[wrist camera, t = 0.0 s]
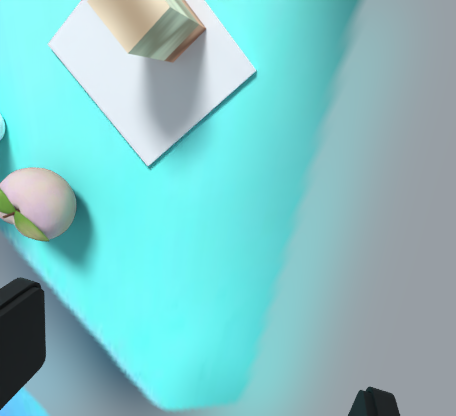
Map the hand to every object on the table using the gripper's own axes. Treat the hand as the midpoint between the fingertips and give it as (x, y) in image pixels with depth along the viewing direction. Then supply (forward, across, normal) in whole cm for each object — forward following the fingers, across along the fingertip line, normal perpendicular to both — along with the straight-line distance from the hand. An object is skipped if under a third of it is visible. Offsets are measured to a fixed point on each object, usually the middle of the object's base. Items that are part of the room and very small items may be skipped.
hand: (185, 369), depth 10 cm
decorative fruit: (+31, +27, +10) cm, 43 cm away
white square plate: (+31, +17, -8) cm, 36 cm away
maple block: (+31, +14, -12) cm, 35 cm away
